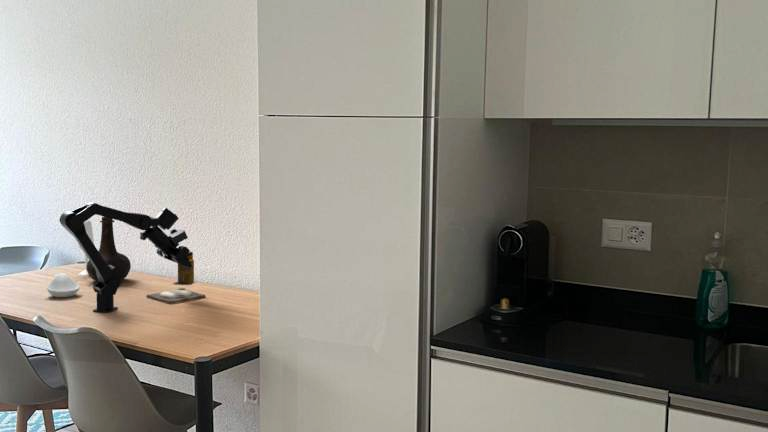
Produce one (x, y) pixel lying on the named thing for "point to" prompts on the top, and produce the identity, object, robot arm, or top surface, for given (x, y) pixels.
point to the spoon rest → (62, 286)
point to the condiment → (186, 272)
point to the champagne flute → (90, 233)
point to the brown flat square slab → (176, 296)
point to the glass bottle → (110, 252)
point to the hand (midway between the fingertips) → (187, 265)
